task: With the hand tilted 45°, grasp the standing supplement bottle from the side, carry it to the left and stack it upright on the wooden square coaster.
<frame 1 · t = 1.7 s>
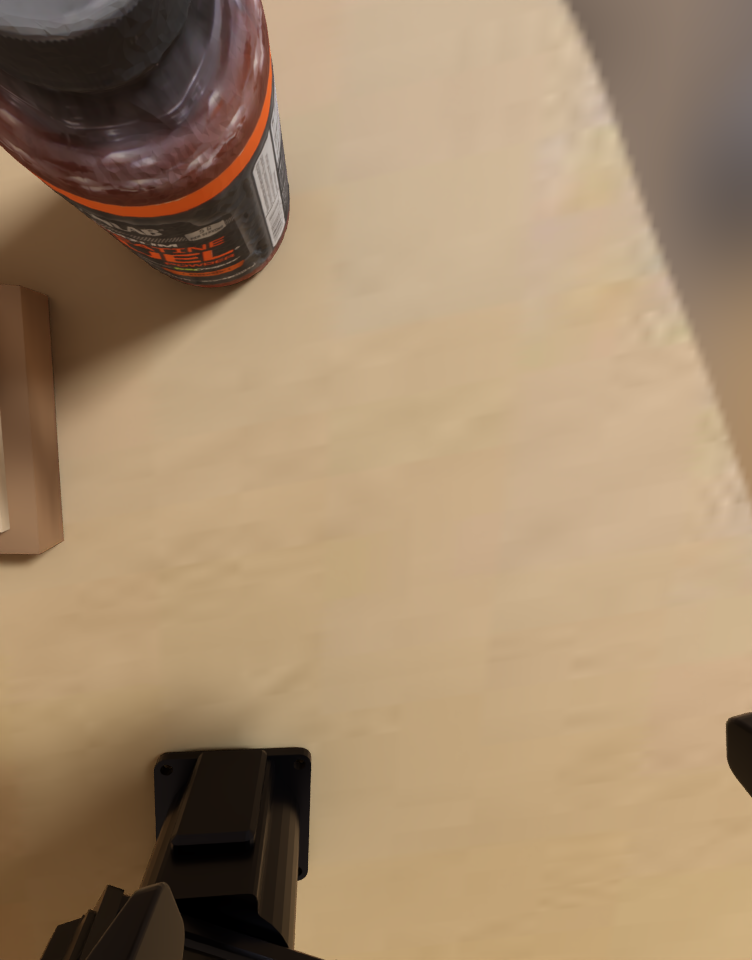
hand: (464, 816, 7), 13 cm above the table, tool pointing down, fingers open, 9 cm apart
supplement bottle: (209, 207, 17), on the table
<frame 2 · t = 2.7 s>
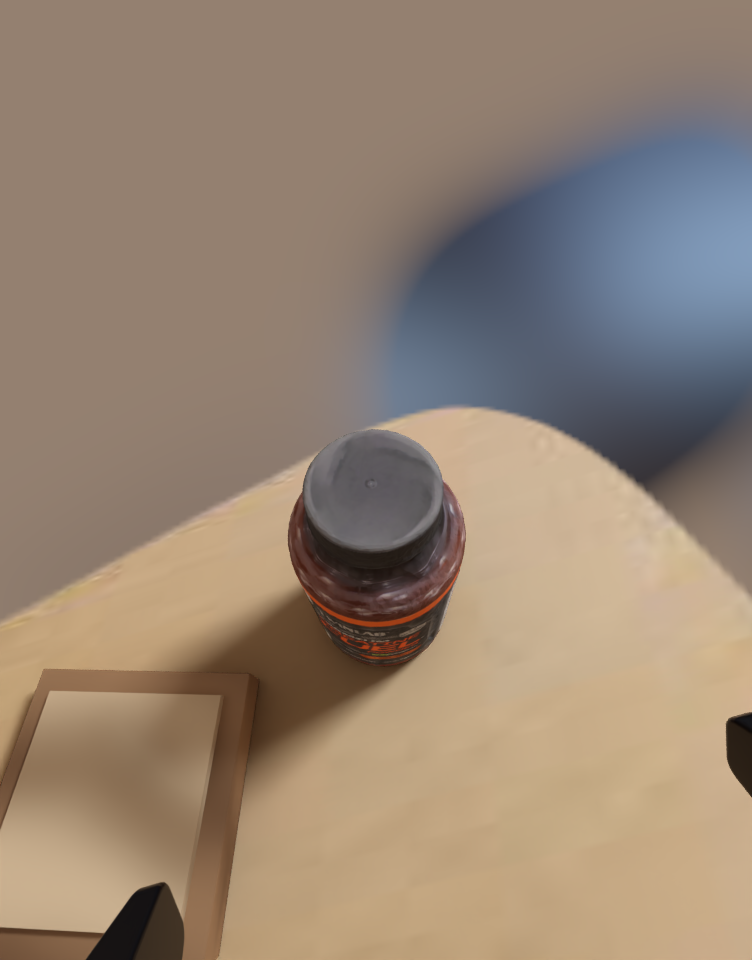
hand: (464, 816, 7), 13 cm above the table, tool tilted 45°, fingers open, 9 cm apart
wooden square coaster: (132, 796, 19), on the table
supplement bottle: (383, 605, 23), on the table
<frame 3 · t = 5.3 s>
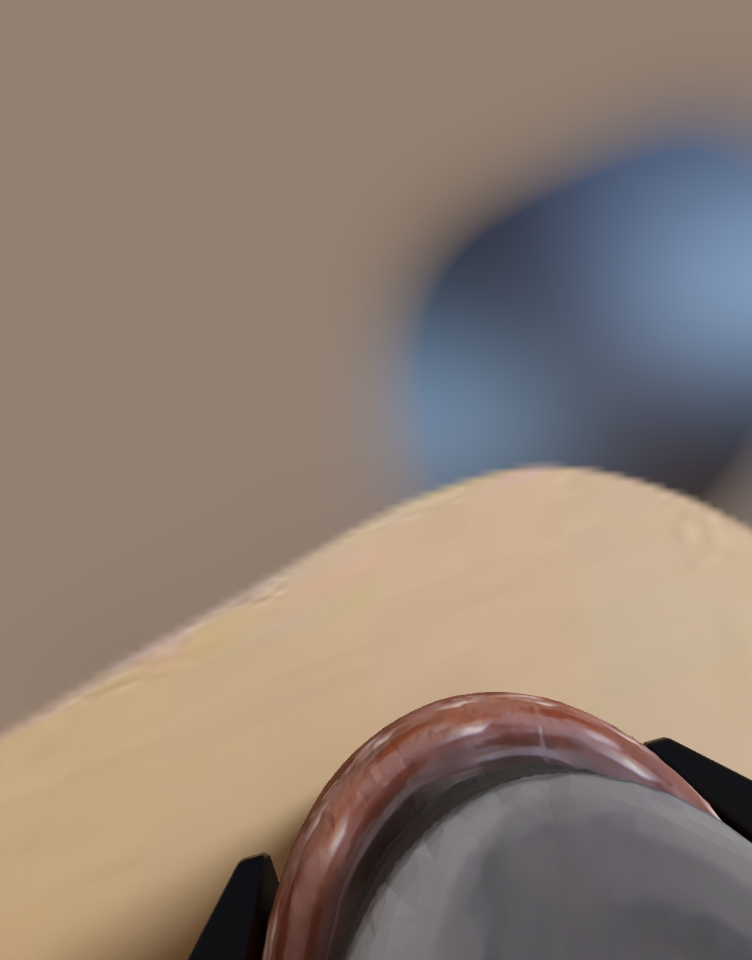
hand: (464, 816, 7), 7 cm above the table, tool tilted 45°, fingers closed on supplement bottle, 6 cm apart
supplement bottle: (451, 860, 12), on the table, touching gripper
when the fingers open (10 cm above the table, at t = 8.5 s): supplement bottle stays where it is, resting on wooden square coaster.
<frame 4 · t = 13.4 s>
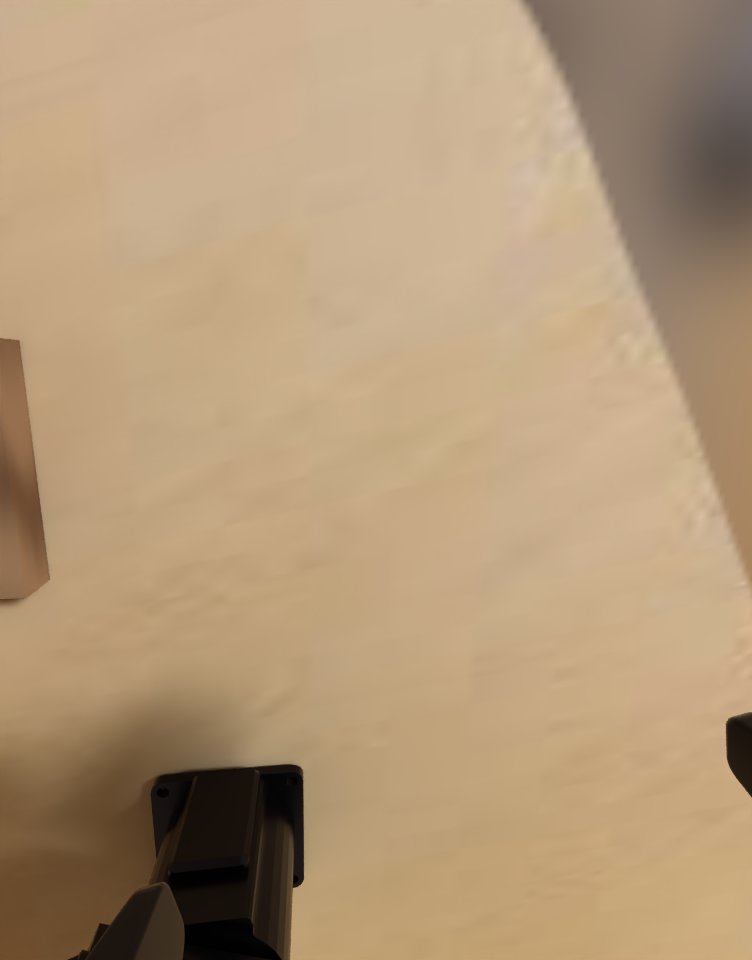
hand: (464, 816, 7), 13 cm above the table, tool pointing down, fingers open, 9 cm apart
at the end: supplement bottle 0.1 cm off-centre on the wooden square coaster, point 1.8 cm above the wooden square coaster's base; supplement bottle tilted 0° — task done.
